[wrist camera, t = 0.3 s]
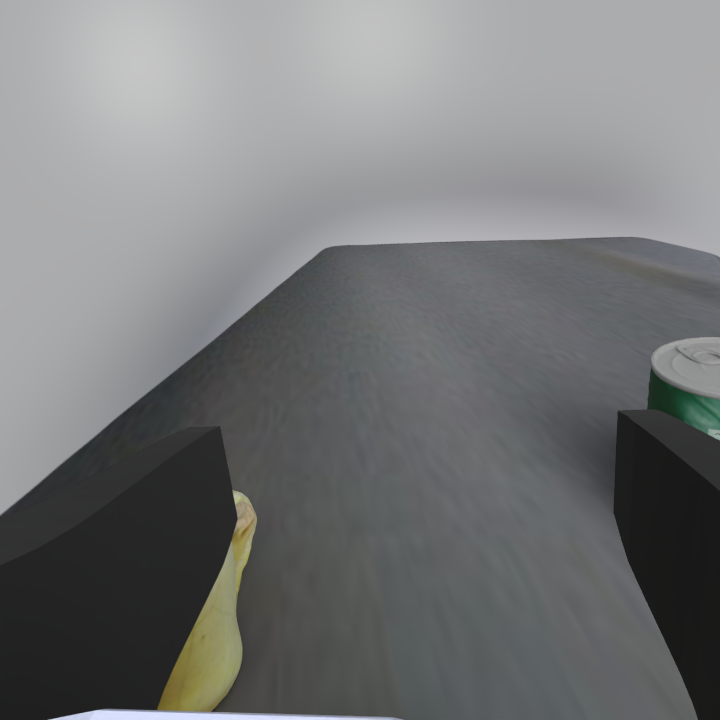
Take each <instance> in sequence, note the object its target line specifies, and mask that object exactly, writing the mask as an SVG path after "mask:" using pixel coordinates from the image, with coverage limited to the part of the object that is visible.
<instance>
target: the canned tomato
mask: <svg viewBox="0 0 720 720" xmlns="http://www.w3.org/2000/svg"><path fill="white" fill-rule="evenodd" d="M650 364H651V372H650V382H649V396H648V408H647V410H651V409H656V410H659V411H661V412H664V413H666V414H669V415H671V416H673V417H675V418H677V419H679V420H681V421H683V422H685V423H687V424H689V425H691V426H693V427H695V428H697V429H699V430H701V431H702V432H704V433H706V434H708V435H710V436H712V437H714V438H716V439H718V440H720V337H700V338H690V339H683V340H678V341H674V342H671V343H668V344H665V345H663V346H661V347H660V348H658V349H657V350H656V351H655V352H654V353H653V354H652V356H651V359H650Z"/></svg>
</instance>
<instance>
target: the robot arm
mask: <svg viewBox="0 0 720 720" xmlns="http://www.w3.org/2000/svg"><path fill="white" fill-rule="evenodd" d="M614 515H615V519H616V522H617V526H618V529H619V533H620V536H621V540H622V543H623V546H624V549H625V552H626V556H627V559H628V562H629V564H630V566H631V568H632V571H633V573H634V575H635V577H636V579H637V582H638V584H639V586H640V588H641V590H642V593H643V595H644V597H645V599H646V601H647V603H648V606H649V608H650V610H651V612H652V614H653V616H654V618H655V620H656V623H657V625H658V627H659V629H660V631H661V633H662V635H663V638H664V640H665V642H666V644H667V646H668V648H669V650H670V653H671V655H672V657H673V659H674V661H675V663H676V665H677V667H678V670H679V672H680V674H681V676H682V679H683V681H684V683H685V686H686V688H687V691H688V693H689V696H690V698H691V700H692V703H693V706H694V709H695V711H696V714H697V717H698V720H720V440H718V439H716V438H714V437H712V436H710V435H708V434H706V433H704V432H702V431H701V430H699V429H697V428H695V427H693V426H691V425H689V424H687V423H685V422H683V421H681V420H679V419H677V418H675V417H673V416H671V415H669V414H666V413H664V412H661V411H659V410H656V409H651V410H625V411H618V420H617V444H616V468H615V491H614ZM237 520H238V516H237V511H236V506H235V501H234V496H233V491H232V485H231V480H230V475H229V470H228V465H227V460H226V455H225V449H224V444H223V439H222V434H221V429H220V426H213V427H189V428H186V429H184V430H181V431H178V432H176V433H174V434H172V435H170V436H167V437H165V438H163V439H161V440H160V441H158V442H156V443H154V444H152V445H150V446H148V447H146V448H144V449H143V450H141V451H139V452H137V453H135V454H133V455H131V456H130V457H128V458H126V459H124V460H122V461H120V462H118V463H117V464H115V465H113V466H111V467H109V468H107V469H105V470H104V471H102V472H100V473H98V474H96V475H94V476H92V477H90V478H88V479H86V480H84V481H82V482H80V483H78V484H76V485H74V486H72V487H70V488H68V489H66V490H64V491H62V492H60V493H58V494H56V495H53V496H51V497H49V498H47V499H45V500H43V501H40V502H38V503H36V504H33V505H31V506H29V507H27V508H24V509H22V510H19V511H17V512H14V513H12V514H9V515H7V516H4V517H2V518H0V720H403V719H398V718H394V717H367V716H333V715H299V714H265V713H231V712H197V711H163V710H157V708H158V706H159V703H160V700H161V697H162V695H163V692H164V689H165V687H166V685H167V682H168V680H169V678H170V675H171V673H172V671H173V669H174V666H175V664H176V662H177V660H178V658H179V656H180V654H181V652H182V650H183V648H184V646H185V644H186V642H187V640H188V637H189V635H190V633H191V631H192V629H193V627H194V625H195V623H196V621H197V619H198V617H199V615H200V613H201V611H202V609H203V607H204V605H205V603H206V601H207V599H208V597H209V594H210V592H211V590H212V588H213V586H214V584H215V582H216V580H217V578H218V576H219V573H220V571H221V569H222V567H223V565H224V562H225V559H226V556H227V553H228V550H229V547H230V544H231V541H232V537H233V534H234V530H235V527H236V523H237Z"/></svg>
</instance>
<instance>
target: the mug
mask: <svg viewBox="0 0 720 720" xmlns="http://www.w3.org/2000/svg"><path fill="white" fill-rule="evenodd" d="M232 491H233V496H234V501H235V506H236V511H237V516H238V520H237V523H236V527H235V530H234V534H233V537H232V541H231V544H230V547H229V550H228V553H227V556H226V559H225V562H224V565H223V567H222V569H221V571H220V573H219V576H218V578H217V580H216V582H215V584H214V586H213V588H212V590H211V592H210V594H209V597H208V599H207V601H206V603H205V605H204V607H203V609H202V611H201V613H200V615H199V617H198V619H197V621H196V623H195V625H194V627H193V629H192V631H191V633H190V635H189V637H188V640H187V642H186V644H185V646H184V648H183V650H182V652H181V654H180V656H179V658H178V660H177V662H176V664H175V666H174V669H173V671H172V673H171V675H170V678H169V680H168V682H167V685H166V687H165V689H164V692H163V695H162V697H161V700H160V703H159V706H158V708H157V710H163V711H197V712H211V711H212V710H213V709H214V708H215V707H216V706H217V705H218V704H219V703H220V702H221V701H222V699H223V698H224V697H225V696H226V695H227V693H228V692H229V690H230V688H231V687H232V685H233V683H234V681H235V679H236V677H237V675H238V672H239V670H240V666H241V662H242V642H241V637H240V632H239V628H238V623H237V618H236V605H237V594H238V591H239V586H240V582H241V576H242V571H243V569H244V567H245V565H246V563H247V560H248V557H249V553H250V550H251V543H252V537H253V535H254V533H255V528H256V523H257V517H256V514H255V511H254V509H253V507H252V505H251V503H250V501H249V499H248V498H247V497H246V496H244V495H243V494H242V493H240V492H237V491H234V490H232Z"/></svg>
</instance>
